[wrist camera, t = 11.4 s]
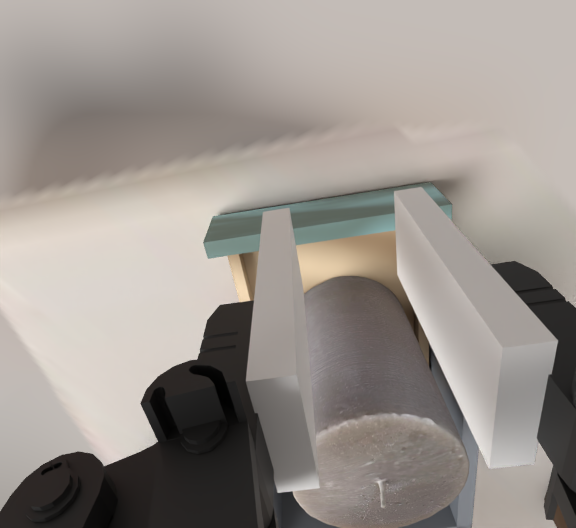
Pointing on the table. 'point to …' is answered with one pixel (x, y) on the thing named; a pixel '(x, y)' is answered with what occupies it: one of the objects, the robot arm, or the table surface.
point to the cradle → (444, 524)
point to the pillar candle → (375, 413)
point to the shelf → (326, 243)
